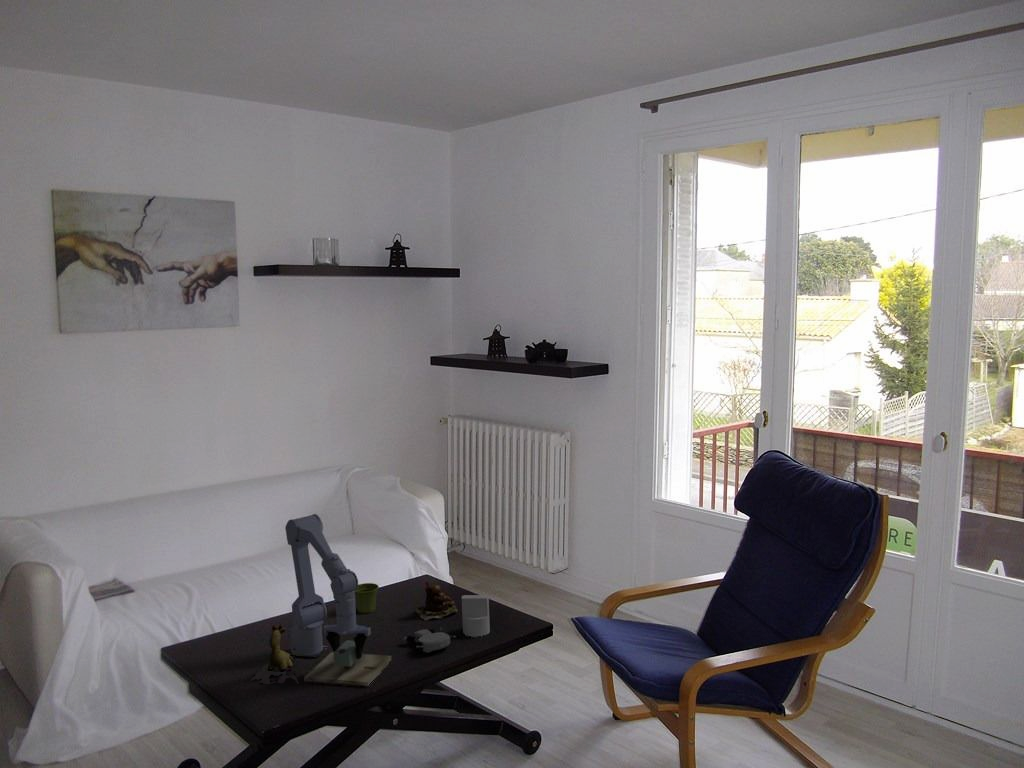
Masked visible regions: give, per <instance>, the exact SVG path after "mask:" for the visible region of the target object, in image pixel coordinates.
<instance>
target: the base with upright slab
mask: <svg viewBox="0 0 1024 768" xmlns="http://www.w3.org/2000/svg"><path fill="white" fill-rule="evenodd" d="M489 597H490V596H489V595H488V594H487V595H486V594H485V595H483V594H482V595H481V594H479V595H477V594H473V595H471V594H466V595H465V594H464V595H462V596H461V614H462V619H461V620H462V633H464V634H465V636H467V637H469V636H471V637H470V638H479V637H478V636H481V637H483V635H485V636H487V635H488V634H489V633H491V630H490V628H491V626H490V602H489V601H490V600H489V599H490V598H489ZM464 634H463V635H464ZM486 634H487V635H486Z"/></svg>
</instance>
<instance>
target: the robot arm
mask: <svg viewBox="0 0 1024 768" xmlns="http://www.w3.org/2000/svg"><path fill="white" fill-rule="evenodd" d="M323 531H324V525H323V522H322V519H321V517H320V516H319V515H318V514H316V513H313V514H311V515H307V516H302V517H299V518H294V519H293V518H291V519H289V520H287V523H286V525H285V534H286V540H287V545H289V546H290V547H291V553H292V561H293V562H292V563H293V567H294V572H295V579H296V587H297V594H298V596H297V598H296V599H295V600H294V601H293V603H291V620H292V624H293V626H292V628H291V630H290V637H289V638H290V652H292V653H300V654H304V655H313V654H317V653H319V652H321V651H322V650H323V647H328V648H329V646H327V645H323V644H324V643H323V634H325V635H326V636H325V638H326V639H325V640H326V641H327V642H328V643H329V645H330V647H331V649H332V652H335V651H336V650H337V649H338V648H339V647H340V646H341V636H344V635H355V637H354V638H353V641H354V642H355V646H356V657H357V659H360V658H361V657H362V654H363V650H364V646H365V643H366V640H367V638H368V637H369V636H371V633H372V630H371V627H368V626H363V625H359V624H357V615H356V614H357V613H356V597H355V591H354V590H356V589H357V588H358V585H359V579H358V576H357V574H356V573H355V572H354V571H353V570H351V569H350V568H347V567H346V565H345V563H344V562H343V560H342V559H341V557H340V556H339V554H338V553H334V552H333V551H332V549H331V547H330V544H329V543H328V541H327V539H326V537H325V535H324V532H323ZM309 544H310V545H311V546H312V548H313V549H314V550H315V551H316V553H317V554H318V556H319V557H320V559H322V560H321V564H320V565H321V567H322V569H323V570H324V572H325V573H326V575H327V576H328V579H329V580H330V589H331V592H332V595H333V600H334V601H335V615H336V617H335V618H336V624H325V625H324V621H325V620H326V619H327V614H328V611H327V607H326V604H325V602H324V597H323V596H321V595H319V594H316V589H315V582H314V577H313V570H312V564H311V563H312V562H311V557H310V551H309ZM323 625H324V626H323ZM295 649H296V650H295ZM325 649H326V648H325ZM326 650H327V649H326ZM319 654H320V653H319Z"/></svg>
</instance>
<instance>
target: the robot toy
mask: <svg viewBox="0 0 1024 768" xmlns="http://www.w3.org/2000/svg"><path fill="white" fill-rule="evenodd" d="M456 637H457V636H456V635H450V634H448V633H446V632H435V629H433V628H430V629H425V628H423V629H420V630H417V631H415V632H414V635H407V636H404V637H403V640H404V641H406V642H407V643H414V642H415V644H416V646H415V647H416V649H418V650H420V651H422V652H423V653H426V654H429V653H432V652H433V651H437V650H442V649H444V648H446V647H448V646H449V645H450V644H451V642H452V639H451V638H456Z"/></svg>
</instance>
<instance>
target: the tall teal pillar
mask: <svg viewBox="0 0 1024 768" xmlns="http://www.w3.org/2000/svg"><path fill="white" fill-rule="evenodd" d="M356 660H357V657H356V646H355V642H354V640H348V639H346V640H345V641H344V642H343V643H342V644H340V647H339V648H338V649H337V650H336V651H335V652H334V666H348V667H350V666H351V665H352V664H353V663H354V662H355V661H356Z"/></svg>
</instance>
